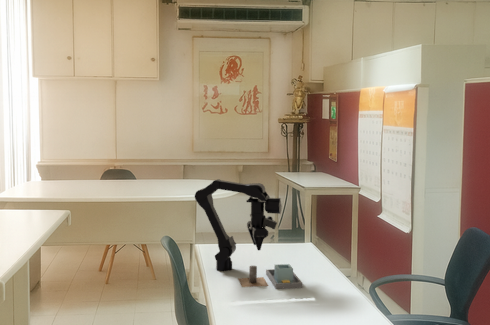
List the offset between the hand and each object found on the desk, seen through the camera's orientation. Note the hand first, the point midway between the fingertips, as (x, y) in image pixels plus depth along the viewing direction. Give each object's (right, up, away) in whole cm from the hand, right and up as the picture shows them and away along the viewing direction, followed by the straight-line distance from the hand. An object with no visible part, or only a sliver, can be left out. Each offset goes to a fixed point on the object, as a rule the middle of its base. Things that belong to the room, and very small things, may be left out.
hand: (257, 247), depth 218 cm
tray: (+11, -13, -10) cm, 20 cm away
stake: (-2, -13, -12) cm, 18 cm away
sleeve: (+11, -12, -11) cm, 20 cm away
